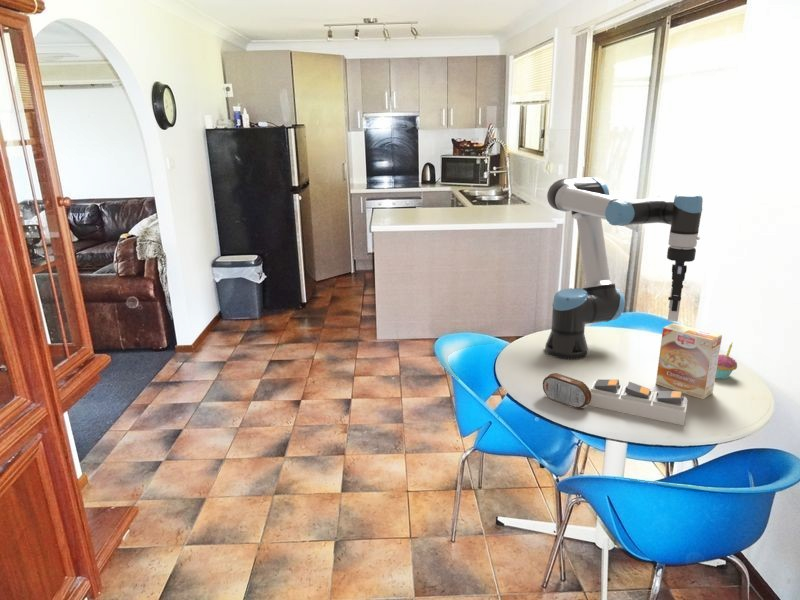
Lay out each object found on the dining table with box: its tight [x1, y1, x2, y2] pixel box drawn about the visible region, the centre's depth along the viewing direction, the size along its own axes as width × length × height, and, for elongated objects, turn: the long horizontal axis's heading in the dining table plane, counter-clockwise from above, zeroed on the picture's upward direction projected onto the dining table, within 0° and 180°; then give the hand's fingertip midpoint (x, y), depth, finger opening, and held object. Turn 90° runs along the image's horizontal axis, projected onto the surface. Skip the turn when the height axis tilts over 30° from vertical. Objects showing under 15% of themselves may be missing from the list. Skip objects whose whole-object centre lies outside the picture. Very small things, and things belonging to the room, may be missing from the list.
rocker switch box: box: [587, 379, 688, 426], centre depth 162 cm, size 28×9×5 cm, turn 61°
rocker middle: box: [625, 381, 651, 399], centre depth 161 cm, size 6×5×2 cm
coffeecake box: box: [655, 322, 723, 400], centre depth 172 cm, size 15×7×20 cm, turn 40°
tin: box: [542, 372, 591, 410], centre depth 165 cm, size 15×3×8 cm, turn 44°
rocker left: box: [595, 379, 620, 391], centre depth 165 cm, size 6×5×2 cm
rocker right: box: [657, 390, 683, 404], centre depth 157 cm, size 6×5×2 cm
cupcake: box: [715, 342, 738, 380], centre depth 181 cm, size 9×8×12 cm
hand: (672, 314), depth 171 cm, fingers open, 13 cm apart
